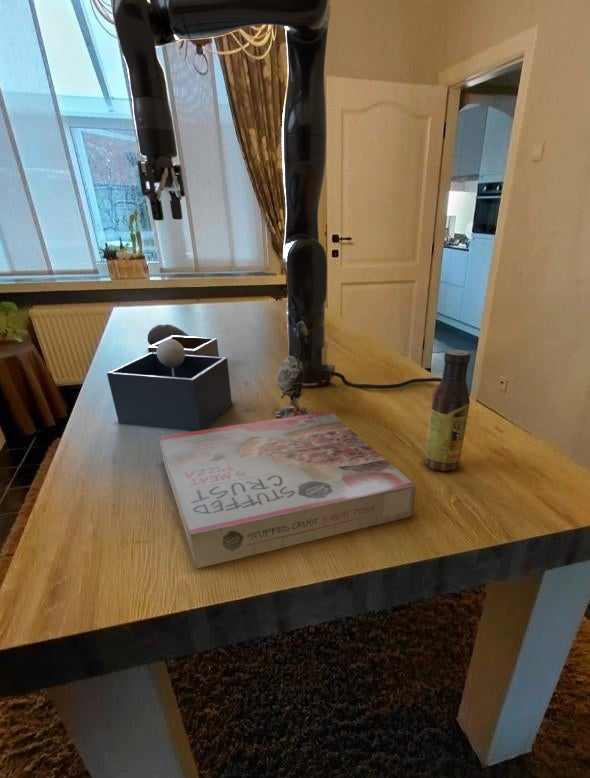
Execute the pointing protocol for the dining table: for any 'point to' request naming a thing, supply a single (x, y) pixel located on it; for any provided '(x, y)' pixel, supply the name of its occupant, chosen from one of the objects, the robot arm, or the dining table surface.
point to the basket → (193, 345)
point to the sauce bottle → (448, 414)
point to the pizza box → (279, 485)
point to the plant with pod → (293, 379)
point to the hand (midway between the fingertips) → (168, 219)
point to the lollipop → (170, 353)
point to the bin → (171, 392)
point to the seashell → (163, 333)
